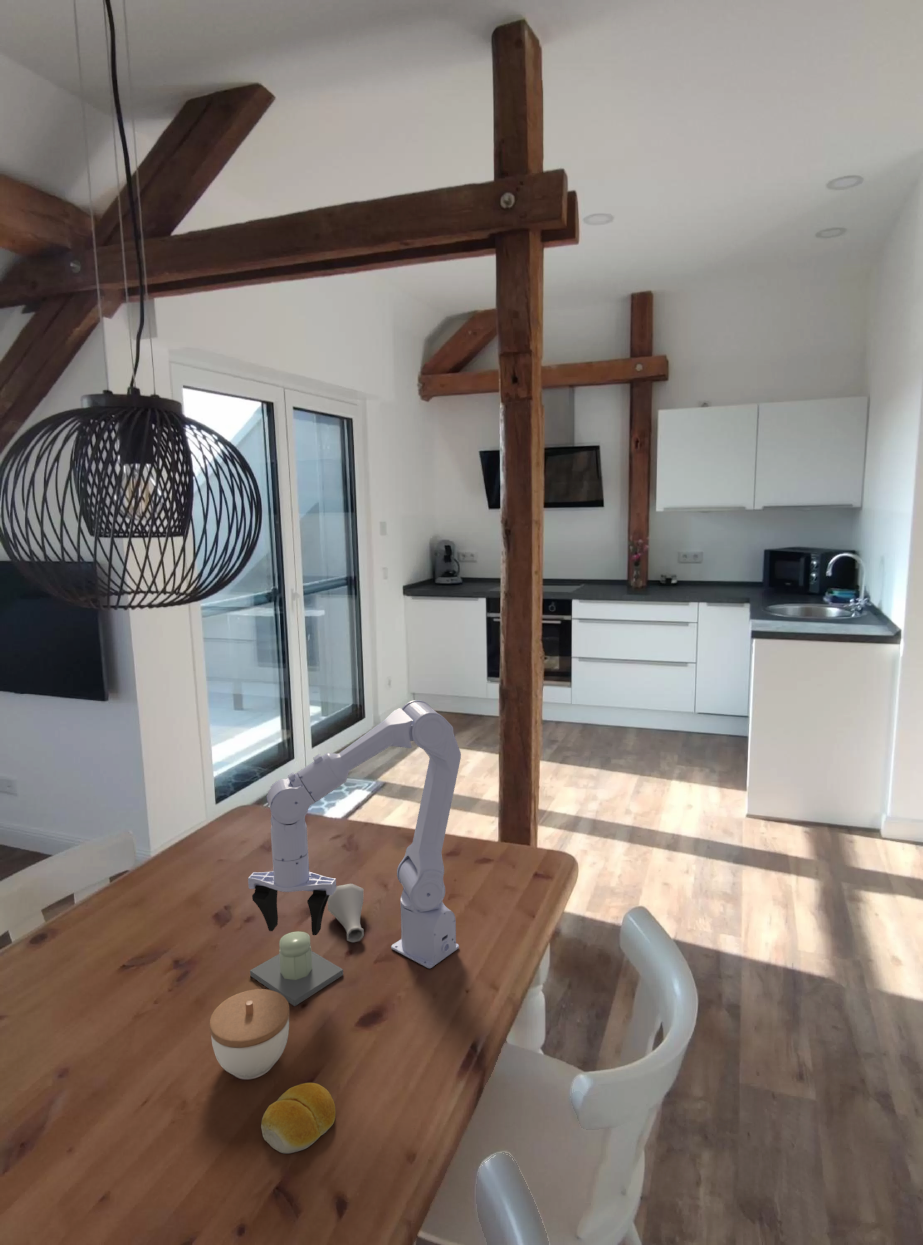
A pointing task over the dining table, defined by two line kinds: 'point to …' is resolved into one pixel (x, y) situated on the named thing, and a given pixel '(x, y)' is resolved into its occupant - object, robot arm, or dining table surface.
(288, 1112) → the bread roll
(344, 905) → the flask
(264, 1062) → the lidded jar
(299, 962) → the cap
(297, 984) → the mat
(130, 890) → the dining table surface
